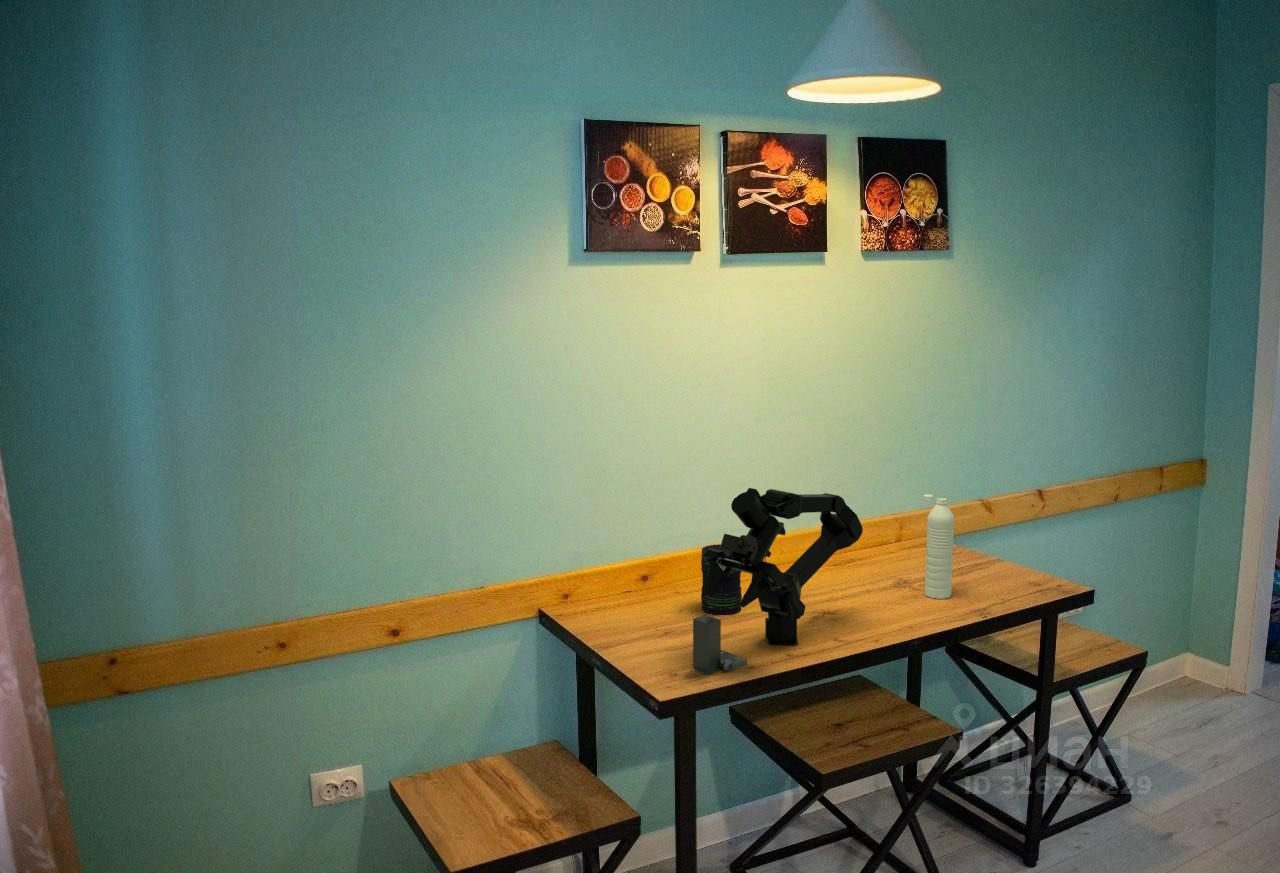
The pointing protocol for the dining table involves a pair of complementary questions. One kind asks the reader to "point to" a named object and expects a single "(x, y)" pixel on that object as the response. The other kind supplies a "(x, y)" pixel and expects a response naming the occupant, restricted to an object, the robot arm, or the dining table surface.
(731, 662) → the fixed hinge leaf
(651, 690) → the dining table surface
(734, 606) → the storage jar
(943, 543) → the water bottle
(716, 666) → the dark grey block
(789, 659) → the dining table surface
